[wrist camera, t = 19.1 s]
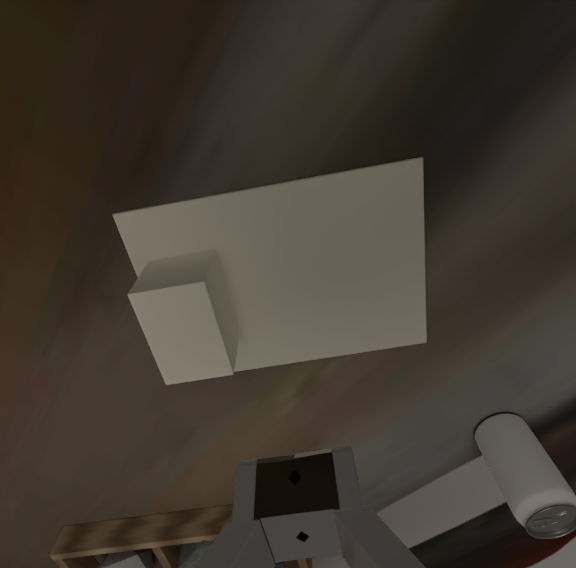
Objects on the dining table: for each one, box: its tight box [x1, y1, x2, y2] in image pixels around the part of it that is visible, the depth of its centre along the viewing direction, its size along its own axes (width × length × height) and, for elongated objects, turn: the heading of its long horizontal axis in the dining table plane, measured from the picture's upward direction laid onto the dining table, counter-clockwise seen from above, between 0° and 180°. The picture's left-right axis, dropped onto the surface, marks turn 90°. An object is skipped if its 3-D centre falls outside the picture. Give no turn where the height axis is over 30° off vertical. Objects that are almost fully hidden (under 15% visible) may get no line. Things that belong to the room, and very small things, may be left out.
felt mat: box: [113, 157, 427, 372], centre depth 41 cm, size 28×20×1 cm
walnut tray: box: [50, 505, 312, 568], centre depth 61 cm, size 35×16×4 cm, turn 100°
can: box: [475, 413, 576, 539], centre depth 47 cm, size 6×6×12 cm
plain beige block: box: [127, 249, 240, 385], centre depth 39 cm, size 6×10×6 cm, turn 10°
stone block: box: [178, 540, 285, 568], centre depth 60 cm, size 9×14×5 cm, turn 57°
